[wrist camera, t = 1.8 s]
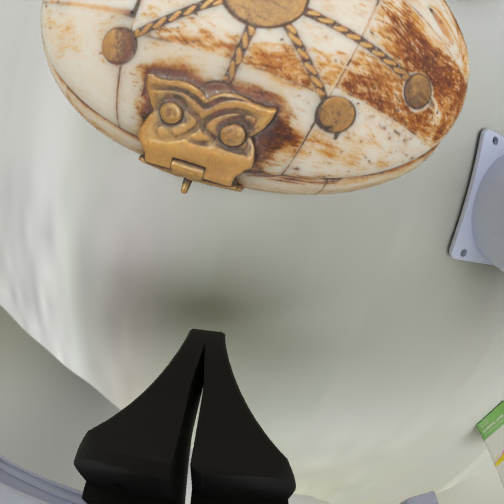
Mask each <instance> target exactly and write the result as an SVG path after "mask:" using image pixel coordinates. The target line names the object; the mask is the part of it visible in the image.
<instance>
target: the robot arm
mask: <svg viewBox="0 0 504 504" xmlns="http://www.w3.org/2000/svg"><path fill="white" fill-rule="evenodd" d="M493 137H494V143H493ZM463 249H464V250H463ZM462 250H463V252H462V253H461V251H462ZM449 255H450V256H451V257H452V258H453V259H456V260H462V261H469V262H475V263H482V264H488V265H494V266H496V267H498V268H499V269H500V270H501V271H502V272H503V273H504V136H502V135H500V134H498V133H496V132H494V131H492V130H490V129H483V131H482V132H481V135H480V140H479V145H478V150H477V155H476V160H475V164H474V168H473V172H472V176H471V180H470V184H469V188H468V192H467V195H466V199H465V202H464V206H463V209H462V213H461V216H460V219H459V222H458V225H457V228H456V231H455V234H454V237H453V240H452V243H451V246H450V249H449ZM202 389H203V394H202V400H201V406H200V412H199V418H198V424H197V430H196V436H195V442H194V447H193V453H192V458H191V463H190V466H191V478H192V479H191V480H192V495H191V504H288V499H289V497H290V496H291V495H292V494H293V492H294V491H295V489H296V483H295V479H294V475H293V472H292V469H291V467H290V464H289V462H288V459H287V458H286V457H285V456H284V455H283V454H282V453H281V452H280V451H279V450H278V448H277V447H276V446H275V445H274V444H273V443H272V441H271V440H270V439H269V438H268V436H267V435H266V434H265V432H264V431H263V429H262V428H261V427H260V425H259V424H258V422H257V421H256V419H255V418H254V416H253V414H252V413H251V411H250V409H249V408H248V406H247V404H246V402H245V400H244V398H243V396H242V394H241V392H240V390H239V387H238V385H237V382H236V380H235V377H234V375H233V372H232V369H231V365H230V362H229V359H228V354H227V350H226V344H225V334H224V333H223V332H215V331H206V330H198V329H192V330H190V332H189V334H188V336H187V338H186V340H185V341H184V343H183V345H182V346H181V348H180V349H179V351H178V352H177V354H176V355H175V356H174V358H173V359H172V361H171V362H170V363H169V365H168V366H167V367H166V368H165V369H164V371H163V372H162V373H161V374H160V376H159V377H158V378H157V379H156V380H155V381H154V382H153V383H152V384H151V385H150V386H149V387H148V388H147V389H146V390H145V391H144V392H143V393H142V394H141V395H140V396H139V397H138V398H136V399H135V400H134V401H133V402H132V403H131V404H129V405H128V406H127V407H125V408H124V409H123V410H121V411H120V412H118V413H117V414H116V415H114V416H113V417H111V418H110V419H108V420H107V421H105V422H103V423H102V424H100V425H98V426H96V427H94V428H93V429H91V430H89V431H88V432H87V433H86V435H85V437H84V438H83V440H82V442H81V444H80V446H79V448H78V451H77V454H76V457H75V460H74V465H75V467H76V469H77V470H78V471H79V473H80V474H81V475H82V476H83V478H84V479H85V480H86V484H85V487H84V491H80V490H77V489H74V488H71V487H68V486H66V485H63V484H61V483H58V482H56V481H53V480H51V479H48V478H46V477H44V476H41V475H39V474H37V473H35V472H33V471H30V470H28V469H26V468H24V467H22V466H20V465H18V464H16V463H14V462H12V461H10V460H8V459H6V458H5V457H3V456H1V455H0V504H185V496H186V485H187V474H188V463H189V455H190V446H191V438H192V432H193V427H194V423H195V419H196V414H197V410H198V406H199V402H200V397H201V393H202ZM400 504H438V501H437V498H436V494H435V492H434V491H431V492H428V493H425V494H421V495H418V496H414V497H411V498H409V499H406V500H404V501H403V502H401V503H400Z"/></svg>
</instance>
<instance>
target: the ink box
mask: <svg viewBox="0 0 504 504" xmlns="http://www.w3.org/2000/svg"><path fill="white" fill-rule="evenodd" d="M477 427H478V429H479V431H480V433H481V435H482V437H483V439H484V442H485V444H486V446H487V448H488V450H489V453H490V455H491V457H492V459H493V462H494V464H495V466H496V469H497V471H498V474H499V476H500V479H501V481H502V484H503V487H504V401H503V402H502V403H501V404H500V405H498V406H497V407H496V408H495V409H494V410H493V411H492V412H491V413H489V414H488V415H487V416H486V417H485V418H484V419H483V420H482V421H481V422H480V423H478V424H477Z"/></svg>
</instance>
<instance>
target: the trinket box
mask: <svg viewBox="0 0 504 504" xmlns="http://www.w3.org/2000/svg"><path fill="white" fill-rule="evenodd" d="M41 34H42V41H43V47H44V51H45V55H46V58H47V62H48V65H49V67H50V70H51V72H52V75H53V77H54V79H55V81H56V82H57V84H58V86H59V88H60V89H61V91H62V92H63V94H64V95H65V97H66V98H67V99H68V101H69V102H70V103H71V104H72V105H73V107H74V108H75V109H76V110H77V111H78V112H79V113H80V114H81V115H82V116H83V117H84V118H85V119H86V120H87V121H88V122H89V123H90V124H91V125H92V126H94V127H95V128H96V129H97V130H99V131H100V132H102V133H103V134H105V135H106V136H108V137H109V138H111V139H112V140H114V141H116V142H117V143H119V144H121V145H123V146H125V147H126V148H128V149H130V150H132V151H134V152H137V153H139V154H141V155H140V156H139V160H140V161H142V162H144V163H146V164H148V165H151V166H153V167H155V168H158V169H160V170H162V171H165V172H167V173H170V174H173V175H176V176H179V177H184V180H183V183H182V188H181V192H182V193H184V194H186V193H187V191H188V189H189V187H190V184H191V182H192V181H196V182H200V183H204V184H207V185H212V186H216V187H220V188H225V189H229V190H235V191H242V190H243V188H249V189H254V190H260V191H267V192H275V193H284V194H304V195H305V194H314V195H315V194H332V193H342V192H350V191H356V190H361V189H365V188H369V187H373V186H376V185H379V184H382V183H385V182H387V181H390V180H393V179H395V178H397V177H400V176H402V175H404V174H406V173H408V172H410V171H412V170H413V169H415V168H416V167H418V166H419V165H420V164H421V163H422V162H424V161H425V160H426V159H427V158H428V157H429V156H430V155H431V153H432V152H433V151H434V150H435V149H436V147H437V146H438V145H439V143H440V142H441V140H442V139H443V138H444V137H445V136H446V135H447V133H448V132H449V131H450V129H451V128H452V127H453V125H454V123H455V122H456V120H457V118H458V116H459V114H460V112H461V109H462V106H463V103H464V100H465V97H466V93H467V84H468V78H469V57H468V52H467V47H466V43H465V40H464V38H463V35H462V33H461V30H460V28H459V25H458V23H457V21H456V19H455V17H454V15H453V13H452V11H451V10H450V8H449V6H448V5H447V3H446V1H445V0H43V2H42V8H41Z"/></svg>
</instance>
